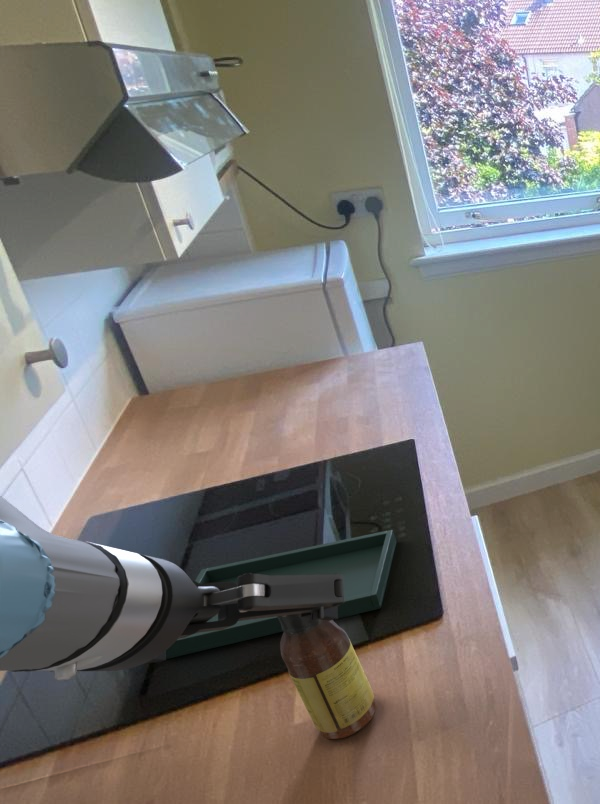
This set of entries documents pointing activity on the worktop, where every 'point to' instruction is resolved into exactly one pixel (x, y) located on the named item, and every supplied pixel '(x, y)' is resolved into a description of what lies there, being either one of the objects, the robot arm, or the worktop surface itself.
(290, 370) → the worktop surface
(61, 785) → the worktop surface
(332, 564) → the tray
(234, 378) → the worktop surface
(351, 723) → the sauce bottle
